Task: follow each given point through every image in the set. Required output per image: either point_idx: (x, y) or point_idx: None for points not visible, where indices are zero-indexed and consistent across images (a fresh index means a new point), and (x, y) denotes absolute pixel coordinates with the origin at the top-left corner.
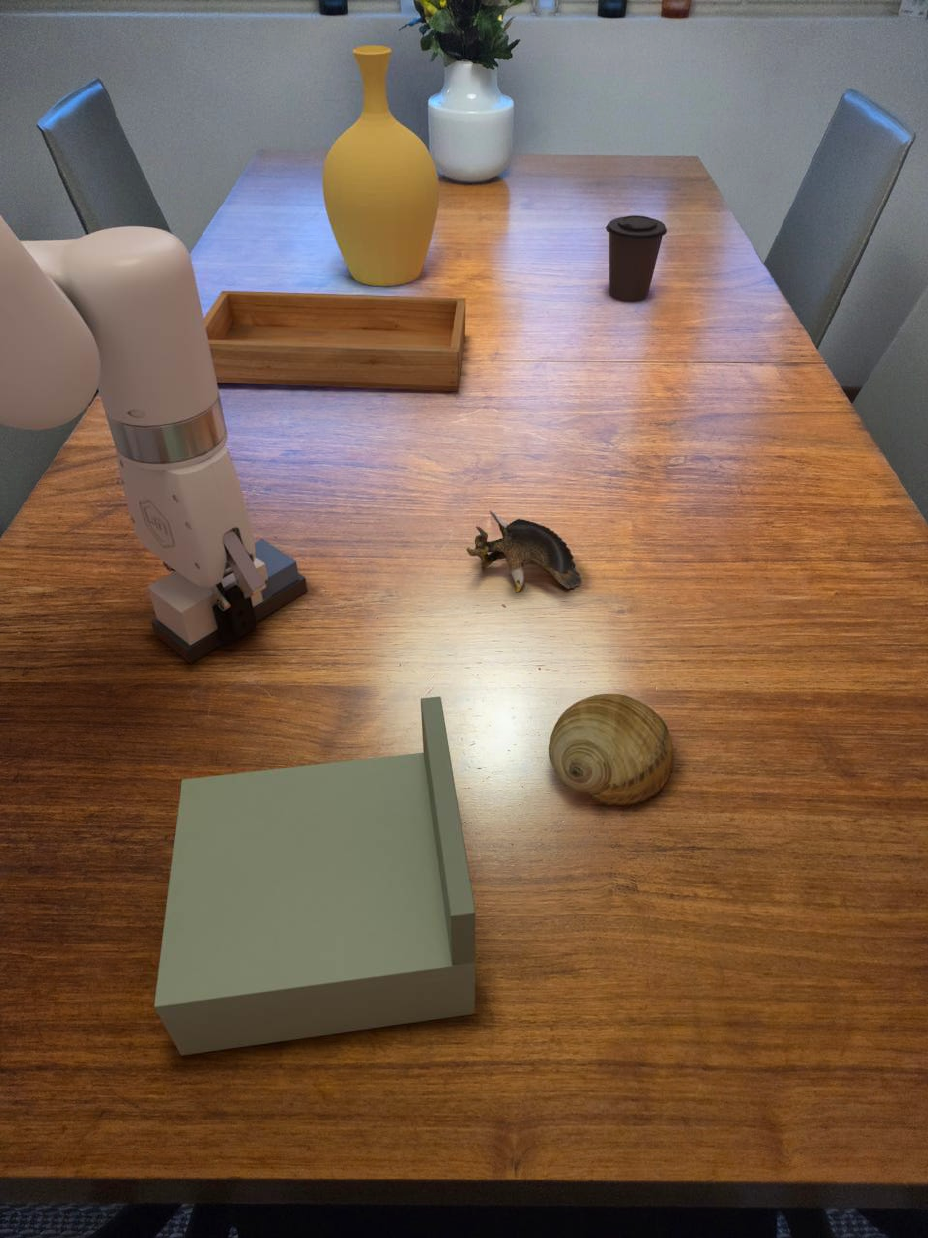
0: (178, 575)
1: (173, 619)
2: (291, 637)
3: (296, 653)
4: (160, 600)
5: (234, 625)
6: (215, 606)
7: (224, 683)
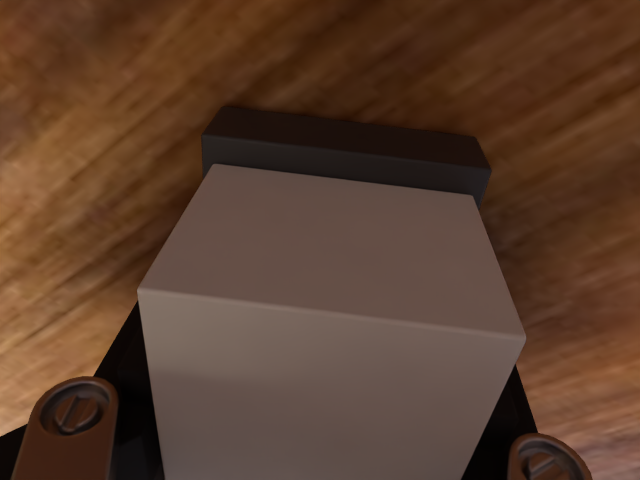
0: (420, 453)
1: (291, 228)
2: (105, 344)
3: (37, 312)
4: (379, 294)
5: (126, 322)
6: (136, 379)
7: (49, 109)
